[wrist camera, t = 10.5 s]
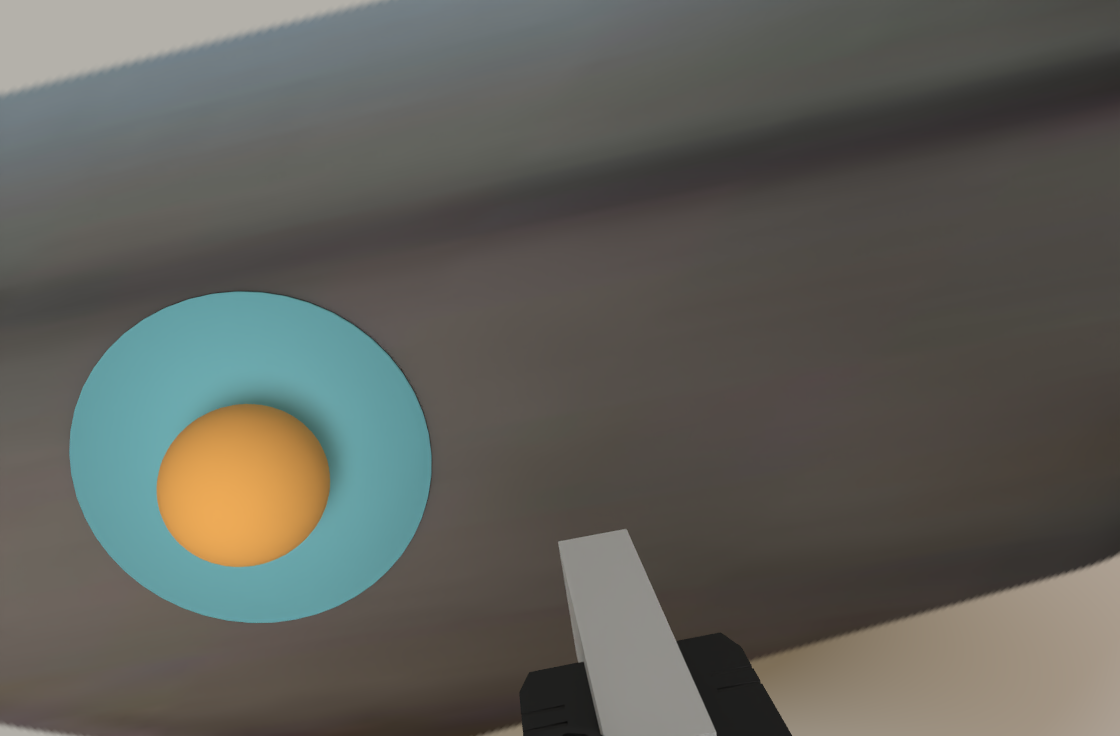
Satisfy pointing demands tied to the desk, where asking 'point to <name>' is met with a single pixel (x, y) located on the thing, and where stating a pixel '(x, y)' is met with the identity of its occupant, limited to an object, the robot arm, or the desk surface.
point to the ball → (243, 485)
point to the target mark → (264, 379)
